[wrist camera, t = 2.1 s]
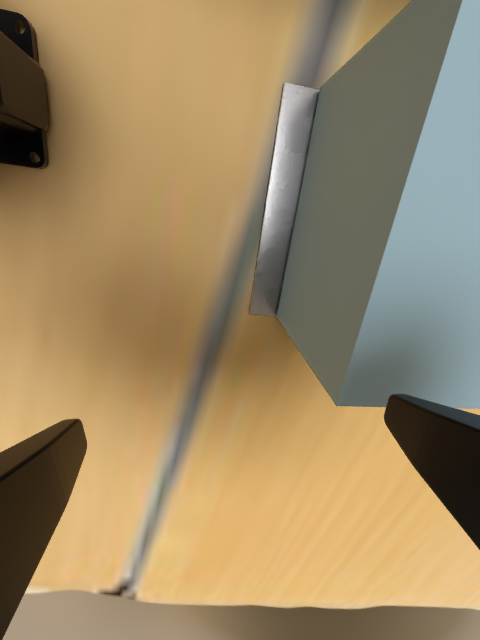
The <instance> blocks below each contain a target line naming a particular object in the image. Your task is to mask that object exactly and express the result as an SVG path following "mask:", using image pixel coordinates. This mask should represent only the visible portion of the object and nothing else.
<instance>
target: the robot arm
mask: <svg viewBox="0 0 480 640" xmlns="http://www.w3.org/2000/svg"><path fill="white" fill-rule="evenodd" d="M22 24H23V25H24V26H25V32H24V33H23V34H19V32H18V26H19V25H22ZM48 126H49V121H48V111H47V101H46V91H45V80H44V71H43V69H42V68H41V67H40V66H39V64H38V57H37V47H36V37H35V31H34V28H33V27H32V25H31V23H30V22H29V21H28V20H27V19H26V18H25V17H24V16H23V15H21V14H19V13H16V12H12V11H7V10H3V9H0V163H4V164H11V165H18V166H24V167H31V168H38V169H43V168H45V167H46V166H47V165H48V153H47V144H46V134H45V130H46V129H47V128H48ZM34 154H38V155H39V158H40V161H39V162H38V163H36V162H35V161H34V159H33V156H34ZM384 420H385V423H386V426H387V427H388V429H389V430H390V432H391V433H392V435H393V436H394V438H395V439H396V441H397V442H398V444H399V445H400V447H401V449H402V450H403V452H404V453H405V455H406V456H407V458H408V459H409V461H410V462H411V464H412V465H413V466H414V468H415V469H416V470H417V472H418V473H419V474H420V475H421V477H422V478H423V479H424V480H425V482H426V483H427V484H428V486H429V487H430V488H431V489H432V491H433V492H434V493H435V494H436V496H437V497H438V498H439V499H440V501H441V502H442V503H443V504H444V506H445V507H446V508H447V509H448V511H449V512H450V513H451V514H452V516H453V517H454V518H455V519H456V521H457V522H458V523H459V525H460V526H461V527H462V528H463V530H464V531H465V532H466V533H467V535H468V536H469V537H470V538H471V540H472V541H473V542H474V543H475V545H476V546H477V547H478V548H479V550H480V415H476V414H473V413H469V412H466V411H462V410H459V409H455V408H452V407H448V406H445V405H441V404H438V403H435V402H431V401H428V400H424V399H421V398H417V397H414V396H410V395H407V394H392V395H390V396H389V398H388V402H387V406H386V410H385V414H384ZM86 450H87V440H86V437H85V433H84V429H83V425H82V422H81V420H79V419H67V420H63V421H60V422H59V423H57V424H55V425H53V426H51V427H49V428H47V429H45V430H43V431H41V432H39V433H37V434H35V435H33V436H31V437H30V438H28V439H26V440H24V441H22V442H20V443H18V444H16V445H14V446H12V447H10V448H8V449H6V450H4V451H2V452H1V453H0V640H2V639H3V636H4V635H5V632H6V631H7V628H8V626H9V624H10V622H11V620H12V618H13V616H14V614H15V612H16V610H17V608H18V606H19V604H20V602H21V599H22V597H23V595H24V593H25V591H26V589H27V587H28V585H29V583H30V581H31V579H32V577H33V575H34V572H35V570H36V568H37V566H38V564H39V562H40V560H41V558H42V556H43V554H44V552H45V550H46V548H47V545H48V543H49V541H50V539H51V537H52V535H53V533H54V531H55V529H56V527H57V525H58V523H59V521H60V518H61V516H62V514H63V512H64V510H65V508H66V506H67V503H68V501H69V498H70V496H71V493H72V490H73V487H74V484H75V482H76V479H77V476H78V473H79V470H80V468H81V465H82V462H83V459H84V456H85V454H86Z"/></svg>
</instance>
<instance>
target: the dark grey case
mask: <svg viewBox="0 0 480 640" xmlns="http://www.w3.org/2000/svg"><path fill="white" fill-rule="evenodd" d="M319 92H320V90H317V89H312V88H308V87H303V86H299V85H294V84H290V83H284V84H283V90H282V97H281V104H280V110H279V117H278V123H277V130H276V137H275V143H274V150H273V157H272V163H271V170H270V177H269V183H268V190H267V196H266V203H265V210H264V216H263V223H262V230H261V236H260V243H259V250H258V256H257V263H256V270H255V276H254V283H253V289H252V296H251V303H250V309H249V314H253V315H266V316H277V313H278V308H279V302H280V297H281V292H282V286H283V281H284V276H285V271H286V265H287V260H288V255H289V250H290V244H291V239H292V234H293V229H294V223H295V218H296V213H297V207H298V202H299V197H300V192H301V186H302V181H303V176H304V171H305V165H306V160H307V155H308V149H309V144H310V139H311V134H312V128H313V123H314V118H315V113H316V107H317V102H318V97H319Z"/></svg>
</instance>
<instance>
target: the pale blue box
mask: <svg viewBox="0 0 480 640" xmlns="http://www.w3.org/2000/svg"><path fill="white" fill-rule="evenodd" d="M277 319H278V321H279V322H280V323H281V325H282V326H283V328H284V329H285V331H286V332H287V334H288V335H289V337H290V338H291V340H292V341H293V343H294V344H295V346H296V347H297V349H298V350H299V351H300V353H301V354H302V356H303V357H304V359H305V360H306V362H307V363H308V365H309V366H310V368H311V369H312V371H313V372H314V374H315V375H316V377H317V378H318V380H319V381H320V382H321V384H322V385H323V387H324V388H325V390H326V391H327V393H328V394H329V396H330V397H331V399H332V400H333V402H334V403H335V405H336V406H362V407H386V406H387V402H388V398H389V396H390V395H392V394H407V395H410V396H414V397H417V398H421V399H424V400H428V401H431V402H435V403H438V404H441V405H445V406H448V407H452V408H466V409H480V0H412V1H411V2H410V3H409V4H408V5H407V6H406V7H405V8H404V9H403V10H402V11H401V12H400V13H399V14H397V15H396V16H395V17H394V18H393V19H392V20H391V21H390V22H389V23H388V24H387V25H386V26H385V27H384V28H383V29H382V30H381V31H380V32H379V33H377V34H376V35H375V36H374V37H373V38H372V39H371V40H370V41H369V42H368V43H367V44H366V45H365V46H364V47H363V48H362V49H361V50H360V51H359V52H357V53H356V54H355V55H354V56H353V57H352V58H351V59H350V60H349V61H348V62H347V63H346V64H345V65H344V66H343V67H342V68H341V69H340V70H338V71H337V72H336V73H335V74H334V75H333V76H332V77H331V78H330V79H329V80H328V81H327V82H326V83H325V84H324V85H323V86H322V87H321V88H320V92H319V97H318V102H317V107H316V113H315V118H314V123H313V128H312V134H311V139H310V144H309V149H308V155H307V160H306V165H305V171H304V176H303V181H302V186H301V192H300V197H299V202H298V207H297V213H296V218H295V223H294V229H293V234H292V239H291V244H290V250H289V255H288V260H287V265H286V271H285V276H284V281H283V286H282V292H281V297H280V302H279V308H278V313H277Z"/></svg>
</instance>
